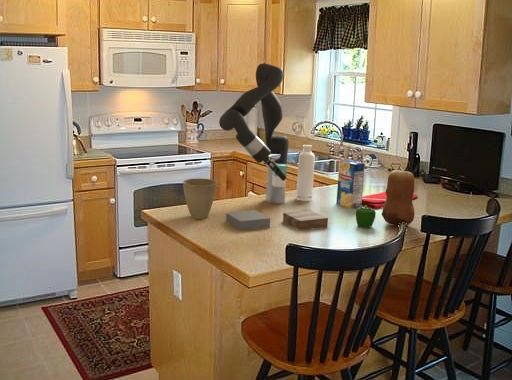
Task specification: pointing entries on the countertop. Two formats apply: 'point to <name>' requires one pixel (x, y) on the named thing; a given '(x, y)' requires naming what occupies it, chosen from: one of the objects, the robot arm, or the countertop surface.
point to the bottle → (305, 174)
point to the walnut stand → (305, 219)
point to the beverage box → (350, 183)
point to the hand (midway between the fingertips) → (283, 177)
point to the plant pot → (199, 196)
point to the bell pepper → (365, 217)
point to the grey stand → (247, 220)
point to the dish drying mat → (377, 200)
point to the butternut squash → (399, 198)
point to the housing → (276, 179)
